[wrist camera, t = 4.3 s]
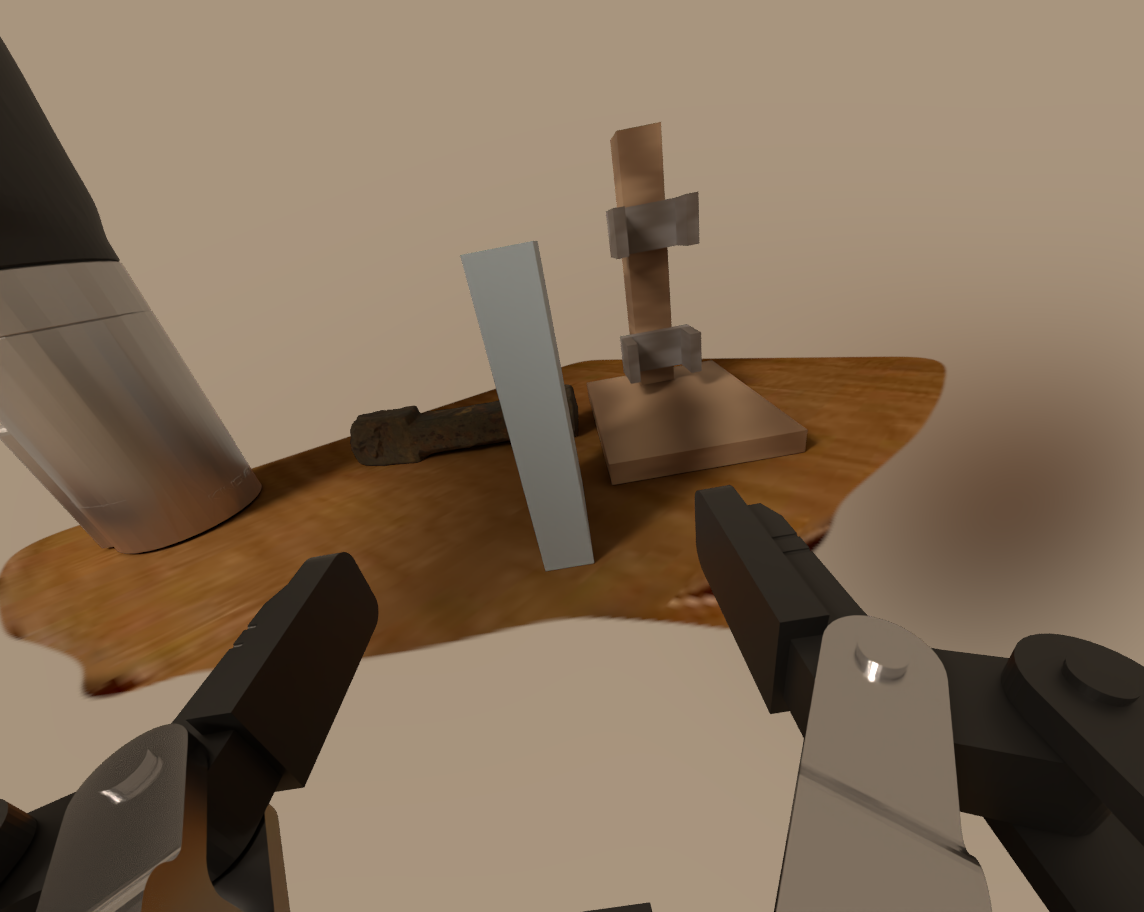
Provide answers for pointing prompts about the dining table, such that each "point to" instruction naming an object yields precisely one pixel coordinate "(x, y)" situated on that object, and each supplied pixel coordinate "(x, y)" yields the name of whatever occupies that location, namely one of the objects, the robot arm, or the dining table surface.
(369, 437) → the hand tool
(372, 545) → the dining table surface
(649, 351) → the hinge frame
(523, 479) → the cabinet door
